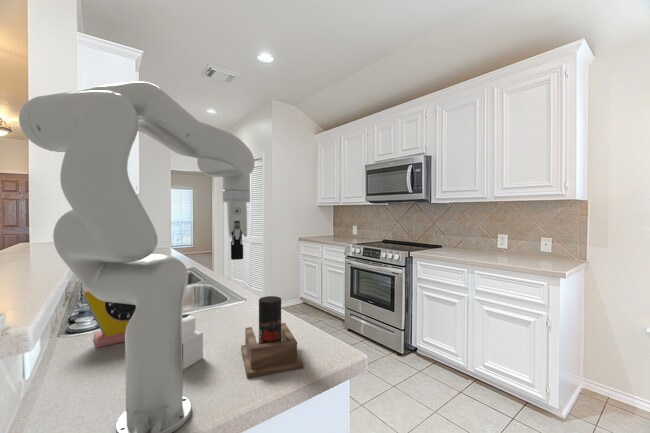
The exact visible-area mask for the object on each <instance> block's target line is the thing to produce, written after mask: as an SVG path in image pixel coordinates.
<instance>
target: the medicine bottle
mask: <svg viewBox="0 0 650 433" xmlns="http://www.w3.org/2000/svg"><path fill="white" fill-rule="evenodd" d="M203 358H204V333H203V331H197V330H196V317H195V315H192V314H187V313H186V314H185V313H184V314H182V371H184V370H185V369H187V368H189V367H190V366H192V365H194V364H195V363H197V362H199V361H200V360H202V359H203Z"/></svg>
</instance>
